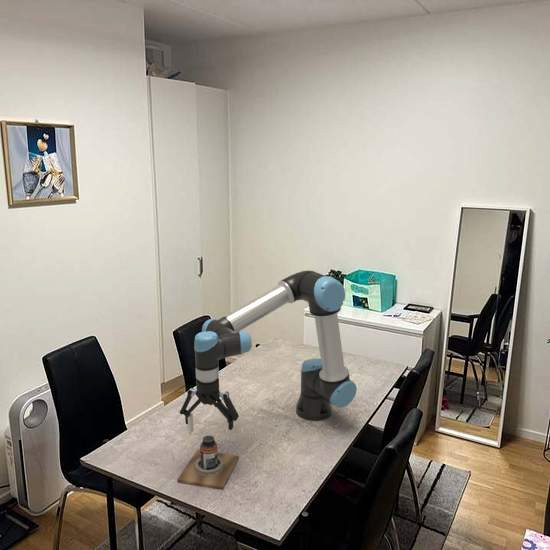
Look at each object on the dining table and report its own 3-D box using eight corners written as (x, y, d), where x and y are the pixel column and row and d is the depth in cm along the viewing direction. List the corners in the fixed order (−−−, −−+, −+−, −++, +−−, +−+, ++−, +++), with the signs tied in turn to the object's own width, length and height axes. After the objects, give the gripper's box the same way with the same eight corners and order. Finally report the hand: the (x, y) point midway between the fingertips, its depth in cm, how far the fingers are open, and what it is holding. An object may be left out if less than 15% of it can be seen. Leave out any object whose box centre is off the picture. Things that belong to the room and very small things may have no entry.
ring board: (238, 458, 185) (238, 451, 184) (222, 489, 168) (222, 482, 167) (197, 451, 188) (197, 445, 188) (177, 482, 171) (177, 475, 171)
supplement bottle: (201, 462, 181) (200, 433, 178) (218, 461, 181) (217, 433, 178) (200, 472, 175) (199, 443, 172) (217, 472, 175) (217, 442, 173)
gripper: (246, 376, 170) (247, 433, 176) (177, 369, 176) (180, 424, 181) (240, 387, 163) (241, 445, 169) (167, 379, 169) (171, 436, 174)
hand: (209, 434), depth 175 cm, fingers open, 13 cm apart
